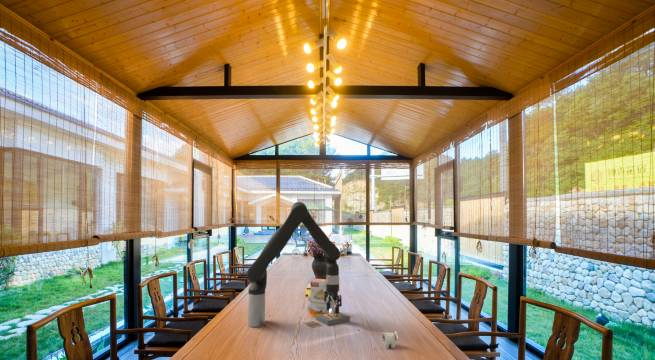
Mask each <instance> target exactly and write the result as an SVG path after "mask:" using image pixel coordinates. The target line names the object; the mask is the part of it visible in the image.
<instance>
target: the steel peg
mask: <svg viewBox="0 0 655 360" xmlns="http://www.w3.org/2000/svg"><path fill="white" fill-rule="evenodd" d="M329 317H331V318H332V317H336V314H335V308H329Z"/></svg>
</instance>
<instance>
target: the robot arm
mask: <svg viewBox="0 0 655 360" xmlns="http://www.w3.org/2000/svg"><path fill="white" fill-rule="evenodd" d="M301 224H303V227H305V228H306V230H307V231H308V234H309V235H310V236H311V238H312V239H313V241H314V242H315V243H316V244H317V245H318V247H319V248H320V249H322V250H323V251H324V260H325V266H326V277H325V279H326V291H325V292H324V302H326V304H327V310H329V308H330V302H331V301H332V302H333V303H334V305H335V314H339V312H340V307H342V306H343V305H342V304H343V303H342V301H343V300H342V299H343V298H342V295H341V294H340V295H339V294H338V293H339V291H340V270H339V269H340V268H339V264H338V263H337V260H339V259H340V257H341V251H340V249H339V248H338V247H337V246H336V244H334V243H333V242H332V241H331V240H330V238H329V237H328V236H327V234H326V233H325V231H323V229H322V228H321V227H320V226H319V225H318V223H317V222H316V221H315V219H314V218H313V216H312V215H311V213H310V212H309V210H308V207H307V205H306V204H305V203H303V202H301V201H295V202H294V203H293V204H292V205H291V208H290V212H289V214H288V216H287V217H286V219H285V221H284V222H283V224H282V225H281V226H279V228H278V229H276V231H275V232H274V233H273V234H272V236H271V237H270V238H269V239H268V241H267V243H266V244H265V246H264V247H263V249H262V251H261V252H260V254H259V255H258V256H257V258H256V259H255V260H254V262H253V263H252V264H251V265H250V266H249V267H248V269H247V271H246V278H247V279H248V280H249V282H250V285H249V287H248V296H247V297H248V302H247V303H248V305H247V306H248V307H247V308H248V310H247V312H248V313H247V314H248V315H247V316H248V317H247V319H248V320H247V326H248V327H250V328H258V327H259V328H260V327H263V326H265V324H266V288H267V285H268V284H267V283H268V282H267V280H268V271H267V268H268V266H269V265H270V264H271V263H272V261H274V260H275V259H276V258H277V256H279V255H280V253H282V251H283V250H284V248H285V247H286V246H287V245H288V242H289V241H290V239H291V238H292V237H293V234H294V232H295V231H296V230H297V228H298V227H299V226H300V225H301ZM326 297H327V299H326Z"/></svg>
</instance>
